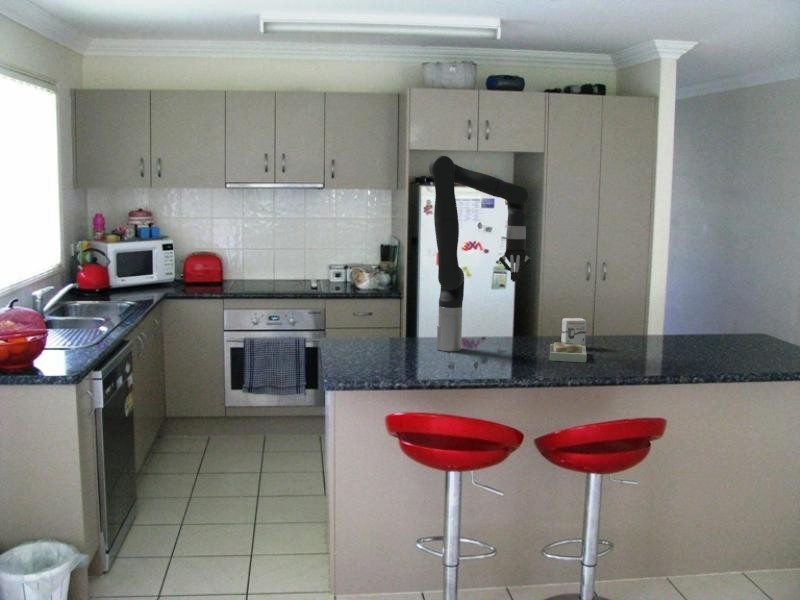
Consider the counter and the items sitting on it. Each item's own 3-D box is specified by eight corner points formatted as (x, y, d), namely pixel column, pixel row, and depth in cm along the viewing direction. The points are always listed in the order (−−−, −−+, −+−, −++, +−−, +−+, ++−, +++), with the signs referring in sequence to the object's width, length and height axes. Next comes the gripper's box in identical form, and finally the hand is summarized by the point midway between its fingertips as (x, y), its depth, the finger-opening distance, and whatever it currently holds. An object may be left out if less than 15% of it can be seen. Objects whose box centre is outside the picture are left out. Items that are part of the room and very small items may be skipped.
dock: (549, 360, 319) (549, 352, 319) (549, 351, 335) (550, 344, 334) (586, 362, 317) (586, 354, 316) (585, 353, 332) (585, 346, 332)
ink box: (564, 349, 340) (566, 320, 338) (560, 346, 345) (561, 318, 343) (585, 348, 341) (586, 320, 339) (580, 346, 346) (582, 317, 344)
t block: (555, 359, 322) (556, 347, 321) (553, 353, 332) (553, 342, 331) (582, 359, 321) (583, 348, 320) (579, 354, 331) (579, 342, 330)
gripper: (498, 237, 330) (496, 281, 333) (532, 238, 328) (530, 283, 330) (499, 236, 337) (498, 279, 340) (533, 237, 335) (531, 280, 338)
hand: (514, 281), depth 335 cm, fingers closed
